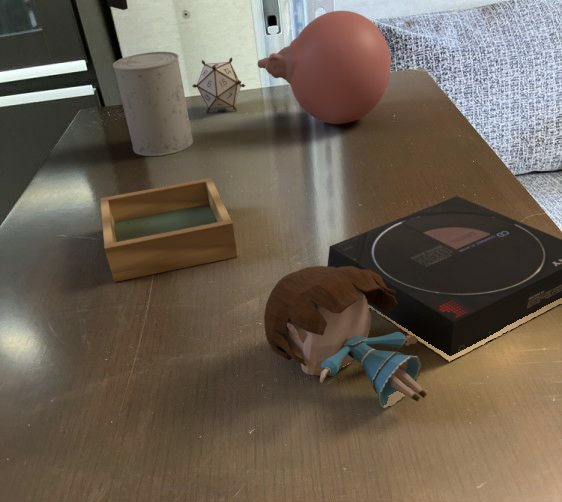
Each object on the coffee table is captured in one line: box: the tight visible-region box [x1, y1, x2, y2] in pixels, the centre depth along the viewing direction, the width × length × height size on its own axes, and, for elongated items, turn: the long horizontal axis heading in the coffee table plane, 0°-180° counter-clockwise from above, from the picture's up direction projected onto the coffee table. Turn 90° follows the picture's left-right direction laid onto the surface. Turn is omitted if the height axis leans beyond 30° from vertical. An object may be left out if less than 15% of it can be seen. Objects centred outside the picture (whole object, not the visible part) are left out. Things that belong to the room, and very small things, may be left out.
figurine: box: [263, 265, 428, 408], centre depth 48 cm, size 11×10×15 cm
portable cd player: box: [326, 195, 562, 356], centre depth 58 cm, size 16×17×4 cm
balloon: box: [257, 10, 392, 125], centre depth 95 cm, size 15×20×15 cm
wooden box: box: [99, 177, 239, 283], centre depth 71 cm, size 13×13×4 cm
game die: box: [191, 57, 246, 114], centre depth 107 cm, size 9×8×10 cm
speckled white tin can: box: [112, 51, 194, 157], centre depth 94 cm, size 10×10×12 cm
